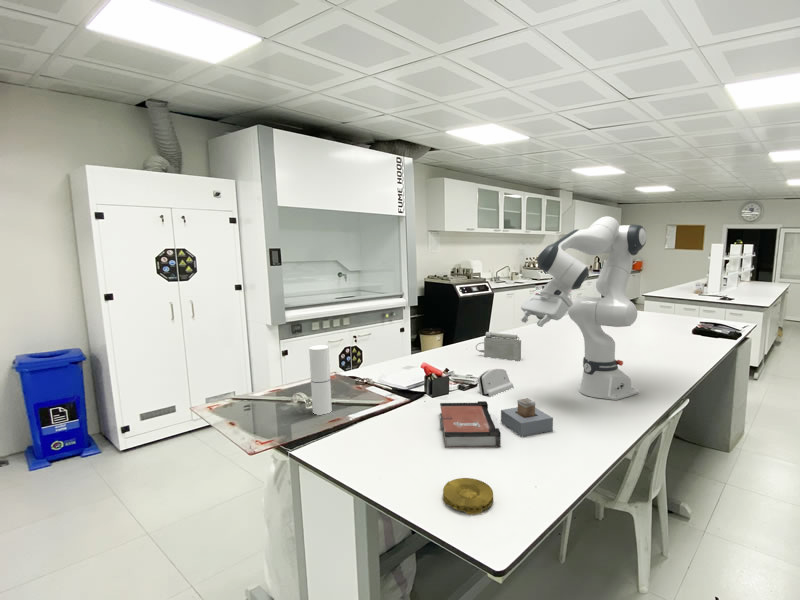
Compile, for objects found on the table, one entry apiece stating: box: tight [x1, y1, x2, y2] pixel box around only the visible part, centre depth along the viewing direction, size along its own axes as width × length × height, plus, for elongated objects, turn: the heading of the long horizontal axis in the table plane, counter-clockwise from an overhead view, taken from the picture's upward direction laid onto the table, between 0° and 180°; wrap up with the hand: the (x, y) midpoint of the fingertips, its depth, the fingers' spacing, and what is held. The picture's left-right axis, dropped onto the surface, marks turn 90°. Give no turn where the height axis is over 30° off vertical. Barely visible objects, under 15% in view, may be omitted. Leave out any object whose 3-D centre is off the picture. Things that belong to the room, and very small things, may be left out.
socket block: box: [500, 406, 554, 438], centre depth 142 cm, size 12×12×4 cm
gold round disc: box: [442, 477, 494, 515], centre depth 102 cm, size 12×12×2 cm
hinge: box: [477, 368, 515, 398], centre depth 178 cm, size 17×5×10 cm, turn 130°
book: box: [439, 400, 502, 448], centre depth 141 cm, size 26×18×5 cm
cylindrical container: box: [308, 344, 333, 416], centre depth 158 cm, size 7×7×25 cm
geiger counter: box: [475, 331, 522, 362], centre depth 228 cm, size 14×6×25 cm
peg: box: [517, 397, 536, 418], centre depth 141 cm, size 4×4×9 cm
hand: (530, 323), depth 158 cm, fingers open, 8 cm apart
